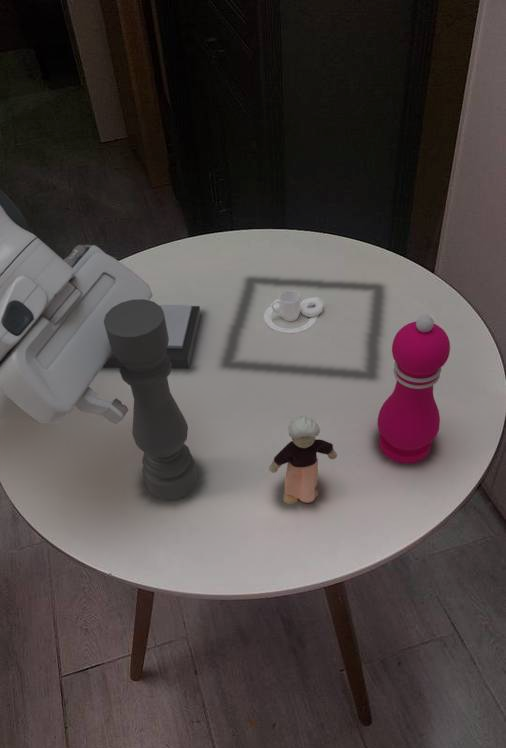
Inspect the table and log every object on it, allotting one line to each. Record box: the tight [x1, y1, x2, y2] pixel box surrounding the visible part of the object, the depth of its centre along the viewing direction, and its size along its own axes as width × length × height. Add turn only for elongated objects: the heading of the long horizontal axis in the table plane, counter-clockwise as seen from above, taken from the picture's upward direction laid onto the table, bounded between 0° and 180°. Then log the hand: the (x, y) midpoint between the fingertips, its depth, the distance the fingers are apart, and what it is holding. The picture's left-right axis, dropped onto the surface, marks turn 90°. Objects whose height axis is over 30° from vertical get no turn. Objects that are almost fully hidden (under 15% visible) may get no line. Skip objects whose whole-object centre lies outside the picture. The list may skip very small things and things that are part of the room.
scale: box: [102, 304, 202, 370], centre depth 99 cm, size 14×12×3 cm
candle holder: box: [104, 299, 198, 502], centre depth 73 cm, size 6×6×25 cm
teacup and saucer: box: [263, 289, 325, 334], centre depth 101 cm, size 9×8×4 cm
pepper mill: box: [376, 314, 451, 464], centre depth 77 cm, size 7×7×20 cm
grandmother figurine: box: [268, 415, 338, 505], centre depth 76 cm, size 8×4×13 cm, turn 114°
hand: (142, 385), depth 71 cm, fingers open, 8 cm apart
